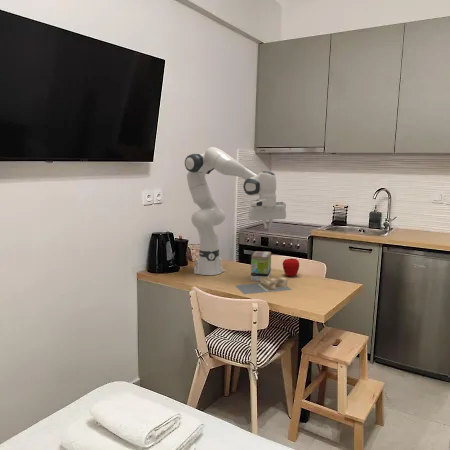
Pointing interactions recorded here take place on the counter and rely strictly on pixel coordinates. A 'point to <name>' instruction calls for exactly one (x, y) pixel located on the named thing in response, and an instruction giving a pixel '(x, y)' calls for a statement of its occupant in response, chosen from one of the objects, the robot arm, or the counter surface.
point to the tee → (273, 283)
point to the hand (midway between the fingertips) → (267, 228)
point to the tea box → (260, 265)
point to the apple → (291, 267)
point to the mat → (257, 288)
